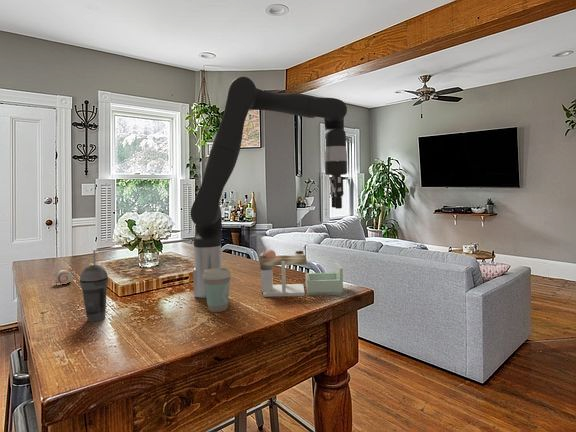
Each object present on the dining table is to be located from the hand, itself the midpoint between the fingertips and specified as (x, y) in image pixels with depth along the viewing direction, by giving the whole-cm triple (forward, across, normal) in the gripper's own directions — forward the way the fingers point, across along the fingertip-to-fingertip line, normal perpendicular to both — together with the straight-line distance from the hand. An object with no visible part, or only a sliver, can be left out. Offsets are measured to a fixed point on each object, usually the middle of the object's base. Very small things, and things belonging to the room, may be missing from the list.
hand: (336, 208), depth 125 cm
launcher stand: (+29, -2, -19) cm, 35 cm away
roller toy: (+30, -22, -108) cm, 114 cm away
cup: (+29, -2, -5) cm, 30 cm away
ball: (+16, -2, -23) cm, 29 cm away
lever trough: (+21, -5, -19) cm, 28 cm away
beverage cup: (+30, +22, -73) cm, 82 cm away
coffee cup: (+30, +16, -39) cm, 51 cm away
